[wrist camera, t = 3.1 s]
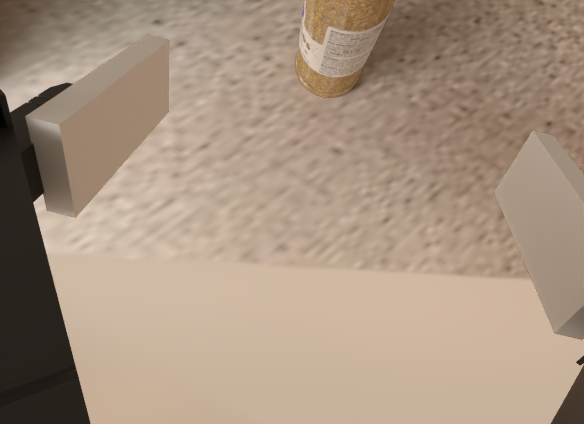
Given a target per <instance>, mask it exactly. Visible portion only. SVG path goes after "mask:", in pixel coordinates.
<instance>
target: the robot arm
mask: <svg viewBox="0 0 584 424" xmlns="http://www.w3.org/2000/svg"><path fill="white" fill-rule="evenodd" d="M168 112H169V40H168V39H164V38H160V37H156V36H151V35H146V36H145V37H143V38H142V39H140V40H139V41H137V42H136V43H134V44H133V45H131V46H130V47H128V48H127V49H125V50H124V51H122V52H121V53H119V54H118V55H116V56H115V57H113V58H112V59H110V60H109V61H107V62H106V63H104V64H103V65H101V66H100V67H98V68H97V69H95V70H94V71H92V72H91V73H89V74H88V75H86V76H85V77H83V78H82V79H80V80H79V81H77V82H76V83H74V84H71V83H64V84H61V85H57V86H54V87H50V88H49V89H47V90H45V91H44V92H42V93H41V94H39V95H38V97H34V98H33V99H31V100H29V102H28V103H25V104H23V105H22V106H20V107H18V108H17V109H15V110H14V111H12V112H9V108H8V104H7V100H6V96H5V94H4V93H3V91H2V90H0V424H90V420H89V416H88V412H87V408H86V405H85V401H84V397H83V393H82V389H81V385H80V381H79V378H78V374H77V370H76V367H75V363H74V359H73V355H72V351H71V347H70V343H69V339H68V336H67V332H66V328H65V324H64V320H63V317H62V313H61V309H60V305H59V301H58V297H57V293H56V289H55V286H54V282H53V278H52V274H51V270H50V266H49V262H48V258H47V255H46V251H45V247H44V243H43V239H42V235H41V231H40V228H39V224H38V220H37V216H36V212H35V208H34V204H33V202H34V201H35V200H36V199H37V198H38V197H40V196H41V195H42V194H43V195H44V200H45V204H46V208H47V211H50V212H54V213H58V214H62V215H67V216H71V217H75V218H76V217H77V216H78V214H79V213H80V212H81V211H82V210H83V209H84V208H85V206H86V205H87V204H88V203H89V202H90V201H91V200H92V198H93V197H94V196H95V195H96V194H97V193H98V192H99V191H100V189H101V188H102V187H103V186H104V185H105V184H106V183H107V181H108V180H109V179H110V178H111V177H112V176H113V175H114V173H115V172H116V171H117V170H118V169H119V168H120V167H121V166H122V164H123V163H124V162H125V161H126V160H127V159H128V158H129V156H130V155H131V154H132V153H133V152H134V151H135V150H136V148H137V147H138V146H139V145H140V144H141V143H142V142H143V141H144V139H145V138H146V137H147V136H148V135H149V134H150V133H151V131H152V130H153V129H154V128H155V127H156V126H157V125H158V124H159V122H160V121H161V120H162V119H163V118H164V117H165V116H166V114H167V113H168ZM494 194H495V196H496V198H497V201H498V203H499V205H500V208H501V210H502V212H503V215H504V217H505V219H506V222H507V224H508V226H509V228H510V231H511V233H512V235H513V238H514V240H515V242H516V245H517V247H518V249H519V252H520V254H521V256H522V259H523V261H524V263H525V266H526V268H527V270H528V273H529V275H530V277H531V280H532V282H533V284H534V286H535V289H536V291H537V293H538V296H539V298H540V300H541V303H542V305H543V307H544V310H545V312H546V314H547V317H548V319H549V321H550V324H551V326H552V328H553V330H554V333H556V334H560V335H564V336H568V337H573V338H577V339H581V340H582V339H584V174H583V173H582V171H581V170H580V169H579V168H578V166H577V165H576V164H575V162H574V161H573V160H572V159H571V157H570V156H569V155H568V153H567V152H566V151H565V149H564V148H563V147H562V146H561V144H560V143H559V142H558V140H557V139H556V138H555V137H554V136H553V135H549V134H545V133H541V132H537V131H532V132H531V134H530V136H529V137H528V139H527V140H526V142H525V143H524V145H523V147H522V148H521V150H520V151H519V153H518V155H517V156H516V158H515V159H514V161H513V162H512V164H511V166H510V167H509V169H508V170H507V172H506V173H505V175H504V177H503V178H502V180H501V181H500V183H499V184H498V186H497V188H496V189H495V191H494ZM576 363H577V364H579V365H582V364H583V363H584V356H583V357H582V358H581V359H580V360H578V361H577V362H576ZM551 424H584V366H583V368H582V369H581V371H580V373H579V375H578V376H577V378H576V380H575V382H574V384H573V385H572V387H571V389H570V391H569V392H568V394H567V396H566V398H565V400H564V402H563V403H562V405H561V407H560V408H559V410H558V412H557V414H556V415H555V417H554V419H553V421H552V423H551Z"/></svg>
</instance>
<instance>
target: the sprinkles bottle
mask: <svg viewBox="0 0 584 424" xmlns="http://www.w3.org/2000/svg"><path fill="white" fill-rule="evenodd" d="M394 1H395V0H304V7H303V14H302V22H301V30H300V37H299V50H298V52H297V56H296V60H295V67H296V73H297V75H298V78H299V80H300V82H301V83H302V84H303V86H304V87H305V88H306V89H307V90H309V91H310V92H312V93H313V94H316V95H318V96H321V97H324V98H329V97H337V96H341V95H343V94H345V93H347V92H349V91H350V90H351V89H352V88H353V87H354V86H355V84H356V83H357V81H358V79H359V77H360V73H361V69H362V66H363V65H364V64H365V62H366V61H367V59H368V57H369V55H370V53H371V51H372V49H373V47H374V45H375V43H376V41H377V39H378V37H379V35H380V33H381V30H382V28H383V26H384V24H385V22H386V20H387V18H388V16H389V14H390V12H391V10H392V7H393V4H394Z"/></svg>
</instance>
